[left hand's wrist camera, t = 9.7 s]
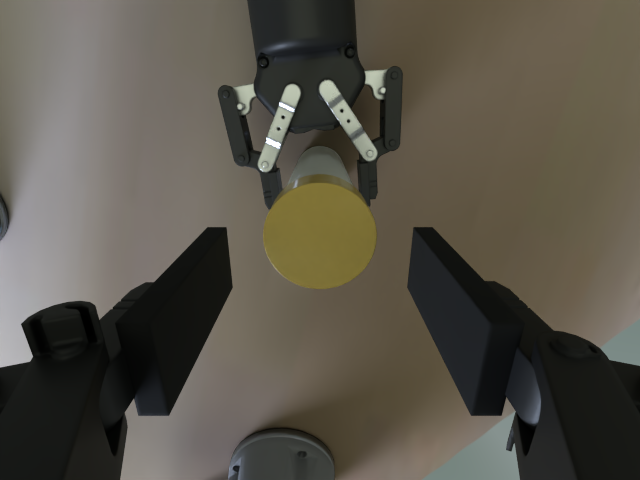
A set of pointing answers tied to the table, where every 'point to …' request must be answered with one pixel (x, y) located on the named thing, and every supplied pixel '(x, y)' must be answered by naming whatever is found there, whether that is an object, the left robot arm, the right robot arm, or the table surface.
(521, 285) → the table surface
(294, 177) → the white cylinder
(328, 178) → the lid
